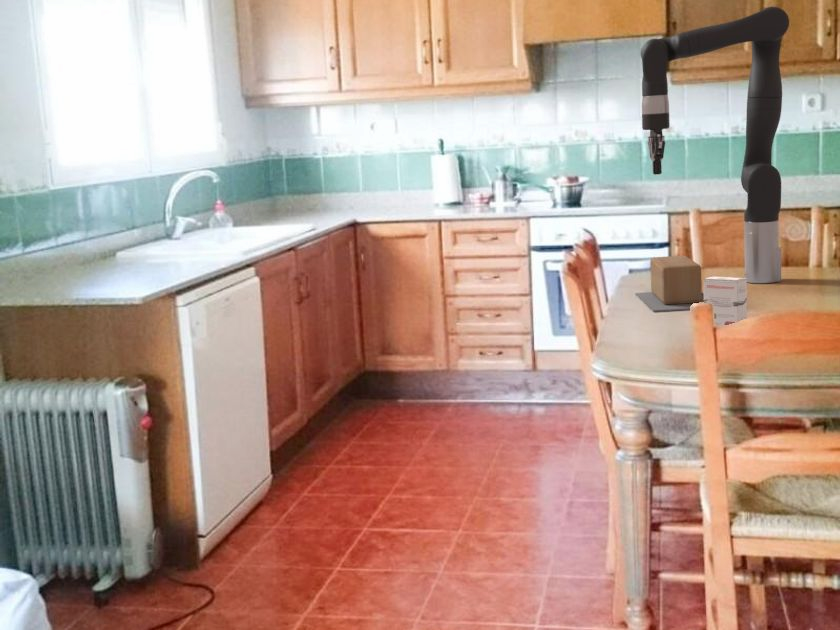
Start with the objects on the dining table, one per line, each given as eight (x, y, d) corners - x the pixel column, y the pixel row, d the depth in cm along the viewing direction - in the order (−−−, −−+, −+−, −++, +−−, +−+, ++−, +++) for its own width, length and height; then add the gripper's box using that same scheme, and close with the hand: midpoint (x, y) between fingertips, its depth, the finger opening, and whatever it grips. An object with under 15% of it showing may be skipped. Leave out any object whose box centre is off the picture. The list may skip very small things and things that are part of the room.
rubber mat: (697, 291, 292) (697, 289, 292) (721, 308, 265) (721, 306, 265) (635, 294, 293) (635, 293, 292) (653, 312, 266) (653, 310, 266)
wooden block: (686, 254, 288) (701, 264, 269) (687, 290, 290) (702, 303, 271) (649, 257, 289) (662, 267, 269) (650, 293, 291) (663, 305, 271)
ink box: (748, 328, 239) (747, 276, 237) (738, 332, 236) (737, 280, 234) (713, 325, 245) (712, 275, 243) (702, 329, 242) (701, 278, 239)
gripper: (673, 111, 290) (675, 174, 293) (664, 111, 303) (665, 172, 306) (646, 113, 290) (648, 176, 293) (637, 113, 303) (639, 173, 306)
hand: (657, 174), depth 300 cm, fingers closed
